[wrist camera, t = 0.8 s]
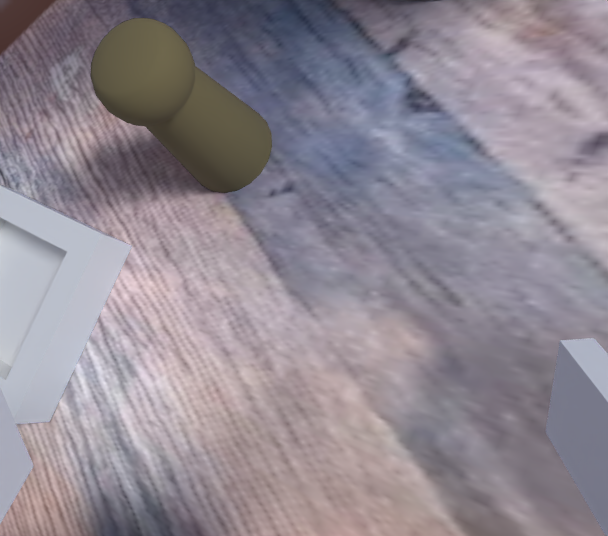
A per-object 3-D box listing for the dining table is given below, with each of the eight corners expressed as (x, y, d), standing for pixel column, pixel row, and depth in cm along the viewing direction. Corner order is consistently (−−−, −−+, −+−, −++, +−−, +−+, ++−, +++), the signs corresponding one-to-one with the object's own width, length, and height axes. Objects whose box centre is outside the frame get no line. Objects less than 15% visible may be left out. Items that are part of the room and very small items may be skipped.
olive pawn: (249, 203, 34) (141, 123, 24) (177, 179, 36) (51, 97, 26) (286, 118, 34) (195, 4, 24) (212, 99, 37) (101, -11, 26)
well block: (13, 189, 41) (-21, 175, 39) (132, 245, 36) (101, 233, 33) (-61, 342, 41) (-102, 338, 38) (49, 421, 35) (11, 424, 33)
